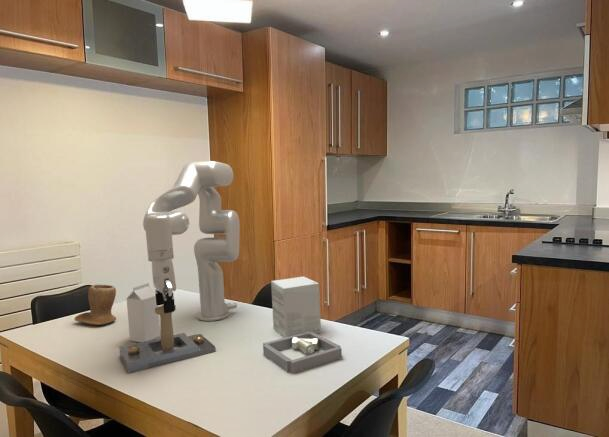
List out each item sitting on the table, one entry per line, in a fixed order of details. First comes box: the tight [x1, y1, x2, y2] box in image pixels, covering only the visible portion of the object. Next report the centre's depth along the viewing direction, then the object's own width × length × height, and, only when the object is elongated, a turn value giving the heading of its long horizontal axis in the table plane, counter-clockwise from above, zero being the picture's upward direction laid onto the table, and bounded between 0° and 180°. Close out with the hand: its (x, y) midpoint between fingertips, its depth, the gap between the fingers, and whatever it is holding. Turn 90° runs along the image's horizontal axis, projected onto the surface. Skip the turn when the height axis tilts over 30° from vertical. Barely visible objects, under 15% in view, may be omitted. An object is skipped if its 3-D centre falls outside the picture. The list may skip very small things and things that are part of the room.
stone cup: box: [73, 284, 117, 326], centre depth 174 cm, size 15×12×15 cm
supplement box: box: [270, 276, 322, 338], centre depth 154 cm, size 13×13×18 cm
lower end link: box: [148, 333, 216, 369], centre depth 140 cm, size 20×15×3 cm
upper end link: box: [118, 332, 198, 374], centre depth 137 cm, size 20×15×5 cm
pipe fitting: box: [291, 337, 320, 356], centre depth 135 cm, size 8×4×7 cm
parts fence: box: [262, 332, 343, 374], centre depth 132 cm, size 18×18×3 cm
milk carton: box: [126, 282, 161, 343], centre depth 152 cm, size 7×7×19 cm
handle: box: [155, 304, 177, 352], centre depth 138 cm, size 5×6×15 cm
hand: (165, 308), depth 138 cm, fingers open, 9 cm apart
